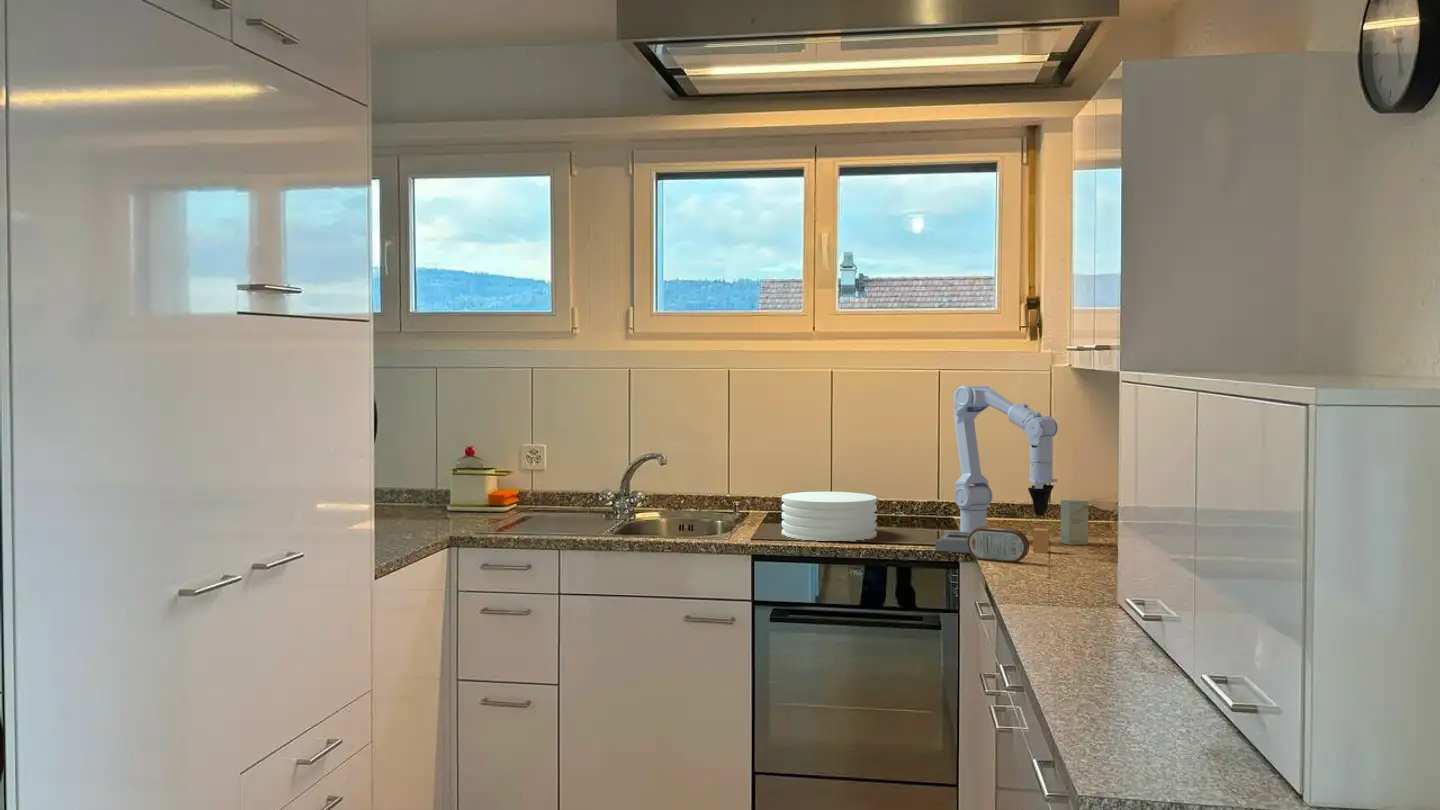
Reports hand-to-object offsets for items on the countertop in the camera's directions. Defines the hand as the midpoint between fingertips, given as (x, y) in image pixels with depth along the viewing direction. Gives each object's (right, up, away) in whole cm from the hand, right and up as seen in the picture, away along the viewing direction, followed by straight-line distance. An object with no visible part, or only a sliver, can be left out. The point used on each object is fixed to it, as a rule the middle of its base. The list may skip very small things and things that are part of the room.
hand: (1040, 513), depth 255 cm
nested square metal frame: (-21, -10, +6) cm, 23 cm away
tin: (-15, -11, -13) cm, 23 cm away
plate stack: (-53, -10, +31) cm, 62 cm away
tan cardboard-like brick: (0, -10, 0) cm, 10 cm away
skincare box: (+14, -10, +14) cm, 22 cm away
